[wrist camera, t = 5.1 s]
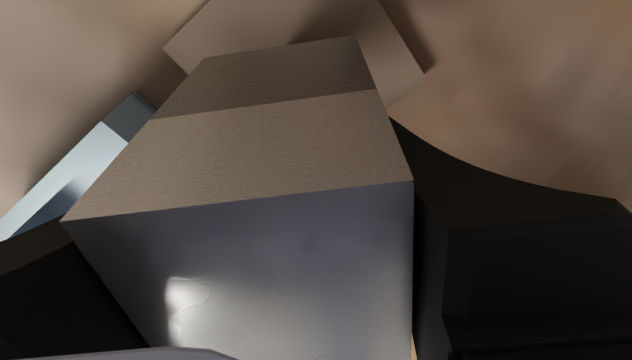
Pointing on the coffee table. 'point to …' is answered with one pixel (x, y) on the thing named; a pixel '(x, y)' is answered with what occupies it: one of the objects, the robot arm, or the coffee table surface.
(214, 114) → the grey rectangular block
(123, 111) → the bin
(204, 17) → the base
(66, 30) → the coffee table surface
